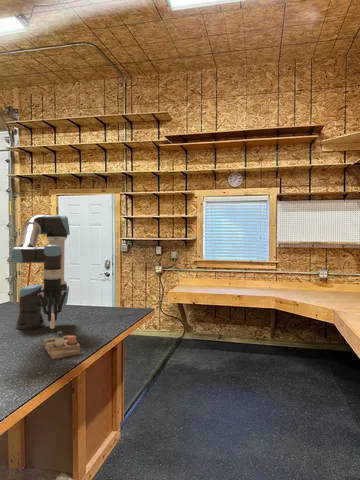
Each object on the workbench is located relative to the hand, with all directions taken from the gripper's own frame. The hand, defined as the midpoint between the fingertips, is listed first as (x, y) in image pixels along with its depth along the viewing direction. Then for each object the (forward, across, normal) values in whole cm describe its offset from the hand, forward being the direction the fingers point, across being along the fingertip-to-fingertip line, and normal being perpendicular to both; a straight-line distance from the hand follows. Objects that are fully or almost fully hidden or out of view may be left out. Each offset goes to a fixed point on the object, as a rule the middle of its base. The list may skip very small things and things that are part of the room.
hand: (52, 327), depth 149 cm
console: (+10, +3, -5) cm, 12 cm away
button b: (+6, +1, -9) cm, 11 cm away
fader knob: (+6, +3, -1) cm, 7 cm away
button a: (+6, +7, -9) cm, 13 cm away
